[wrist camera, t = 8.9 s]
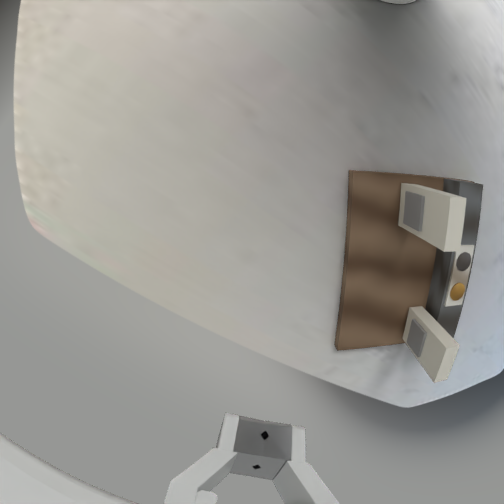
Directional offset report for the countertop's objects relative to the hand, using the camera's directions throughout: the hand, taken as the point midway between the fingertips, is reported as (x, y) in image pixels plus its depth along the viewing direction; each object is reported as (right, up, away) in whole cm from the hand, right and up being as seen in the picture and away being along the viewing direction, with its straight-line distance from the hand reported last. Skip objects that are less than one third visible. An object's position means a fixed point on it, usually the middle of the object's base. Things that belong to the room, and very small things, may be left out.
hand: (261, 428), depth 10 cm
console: (+20, +5, +27) cm, 34 cm away
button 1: (+21, -3, +28) cm, 35 cm away
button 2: (+18, +12, +23) cm, 31 cm away
